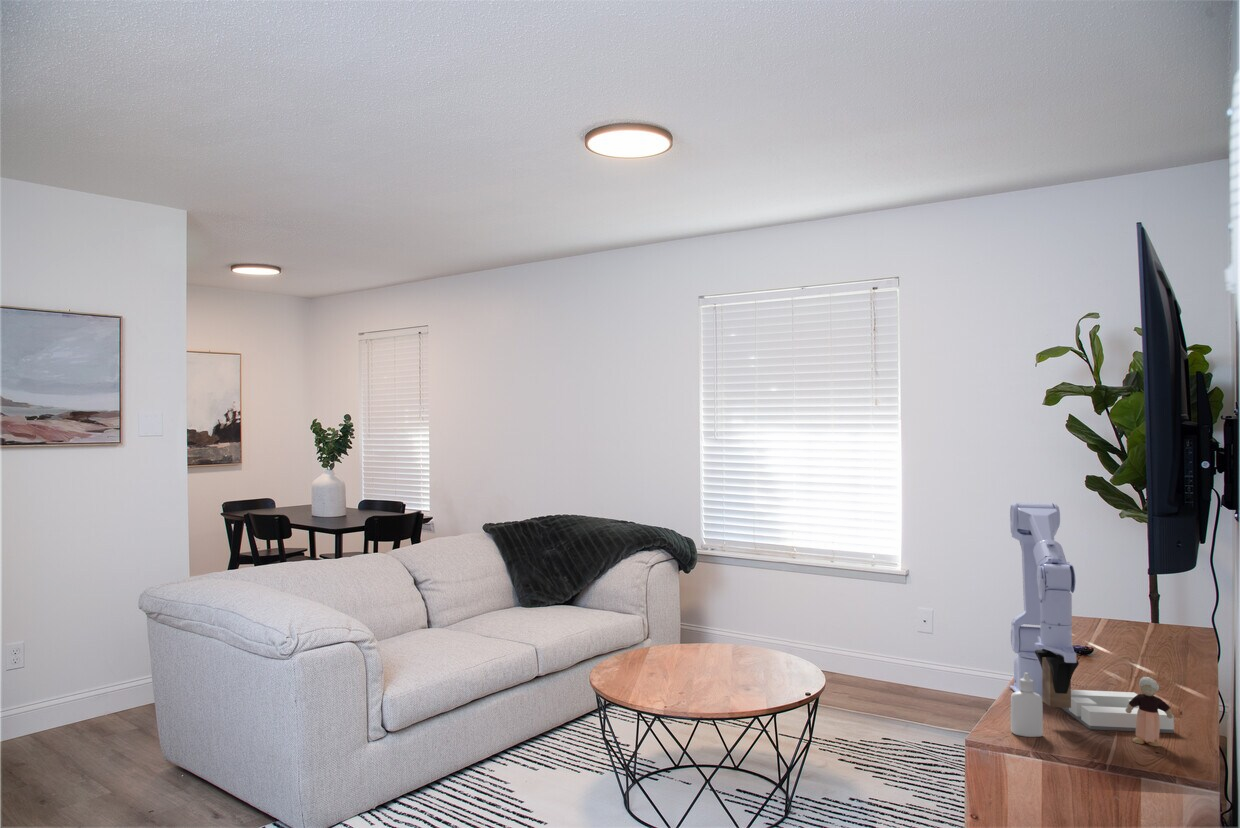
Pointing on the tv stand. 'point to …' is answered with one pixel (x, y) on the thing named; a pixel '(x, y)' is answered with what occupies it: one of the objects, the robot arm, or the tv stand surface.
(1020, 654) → the robot arm
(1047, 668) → the walnut pin
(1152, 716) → the grandmother figurine
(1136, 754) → the tv stand surface
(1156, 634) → the tv stand surface
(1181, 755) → the tv stand surface
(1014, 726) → the eye dropper bottle
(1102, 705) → the socket block
